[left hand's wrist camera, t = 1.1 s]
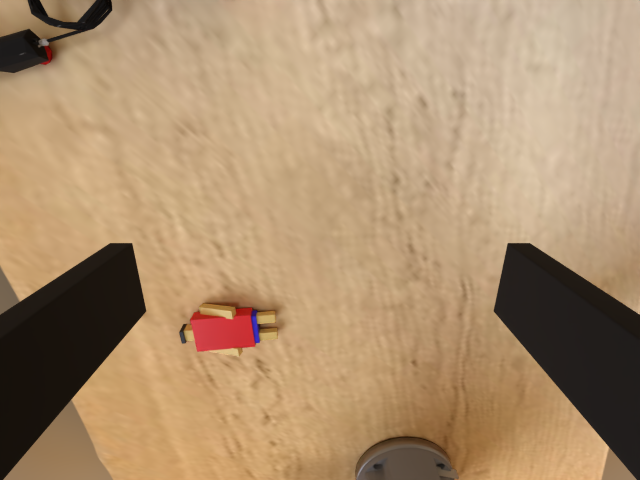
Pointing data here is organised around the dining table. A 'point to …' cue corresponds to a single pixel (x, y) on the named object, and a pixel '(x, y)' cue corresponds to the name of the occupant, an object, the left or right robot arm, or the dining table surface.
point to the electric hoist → (32, 50)
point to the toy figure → (227, 329)
